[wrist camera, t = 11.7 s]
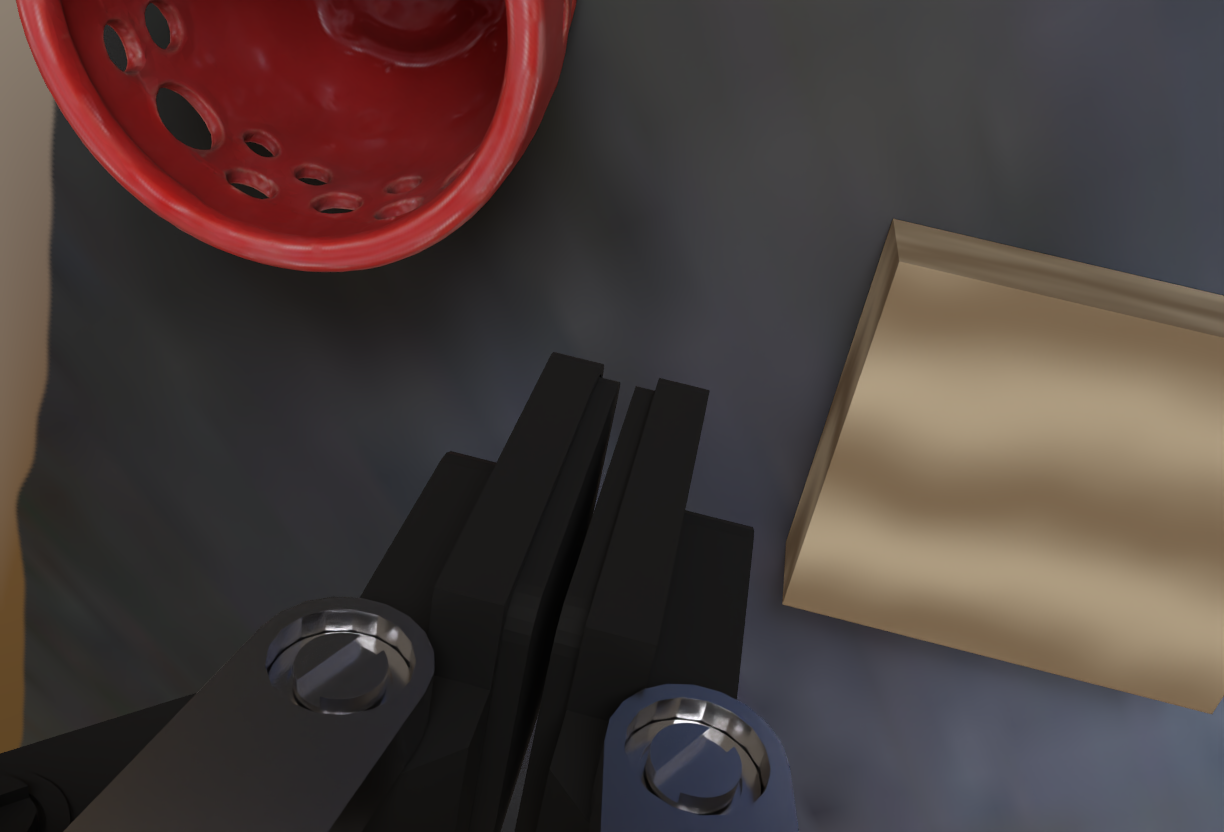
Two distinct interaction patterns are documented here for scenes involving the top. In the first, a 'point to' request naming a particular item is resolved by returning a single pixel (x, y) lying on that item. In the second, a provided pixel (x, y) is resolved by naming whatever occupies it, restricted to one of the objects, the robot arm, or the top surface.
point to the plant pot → (309, 114)
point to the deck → (1026, 468)
